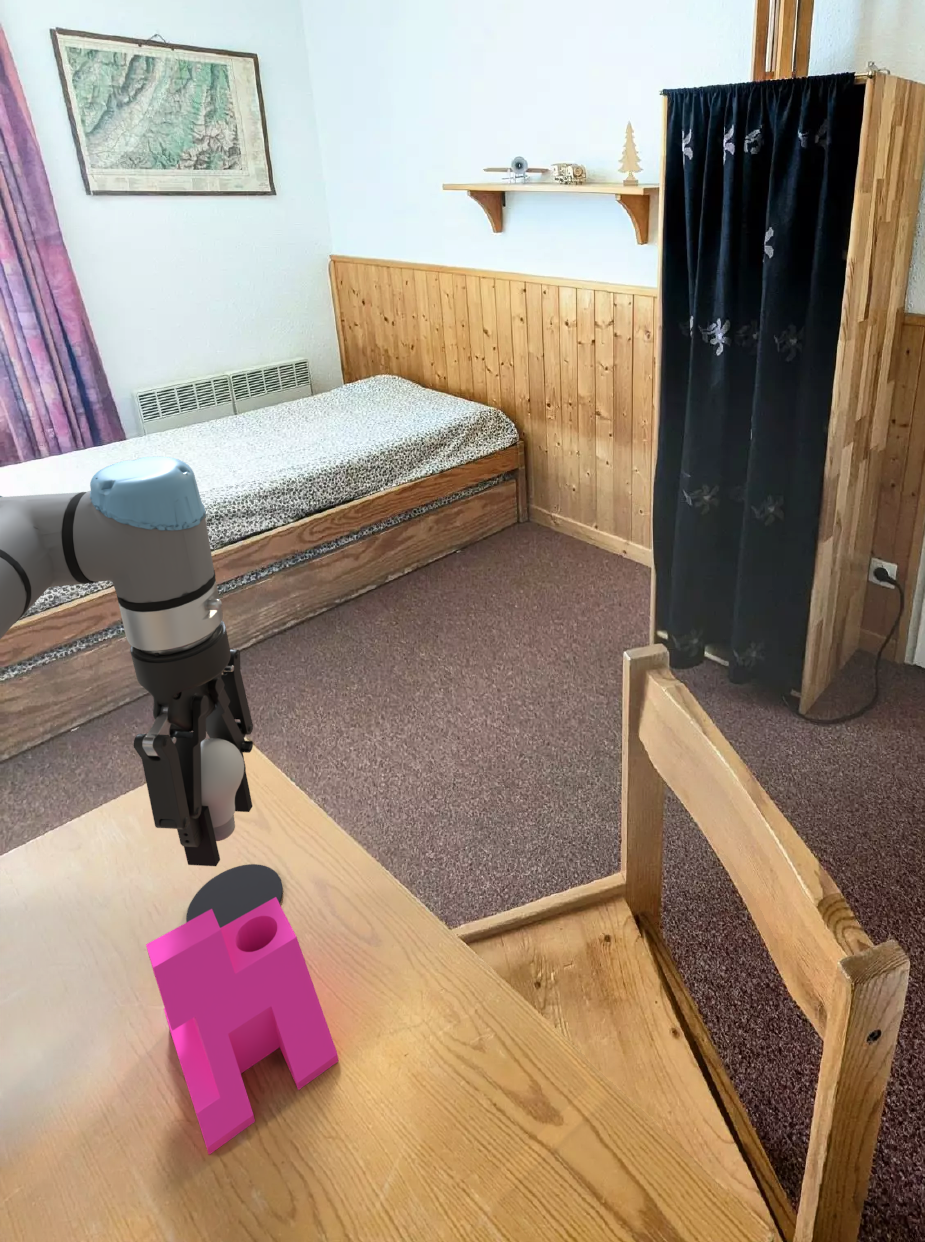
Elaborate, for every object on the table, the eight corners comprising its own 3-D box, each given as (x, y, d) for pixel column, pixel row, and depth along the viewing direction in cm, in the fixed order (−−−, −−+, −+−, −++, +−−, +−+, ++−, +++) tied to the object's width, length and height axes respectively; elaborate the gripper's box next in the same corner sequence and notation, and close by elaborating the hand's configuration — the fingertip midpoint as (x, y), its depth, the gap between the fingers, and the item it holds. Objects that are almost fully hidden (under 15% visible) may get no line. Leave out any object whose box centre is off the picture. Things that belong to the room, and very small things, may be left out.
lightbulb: (269, 824, 77) (253, 735, 73) (219, 872, 72) (198, 778, 68) (225, 804, 79) (207, 717, 75) (173, 849, 74) (151, 757, 70)
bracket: (169, 1028, 67) (145, 944, 64) (287, 956, 73) (272, 875, 70) (208, 1154, 59) (184, 1065, 55) (338, 1060, 65) (324, 975, 61)
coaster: (168, 942, 75) (167, 939, 74) (215, 864, 83) (215, 861, 83) (258, 948, 74) (257, 945, 74) (297, 869, 82) (296, 866, 82)
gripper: (156, 702, 58) (208, 924, 66) (268, 579, 76) (298, 766, 84) (61, 699, 59) (125, 919, 67) (194, 577, 76) (231, 763, 84)
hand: (221, 833), depth 75 cm, fingers closed on lightbulb, 6 cm apart
